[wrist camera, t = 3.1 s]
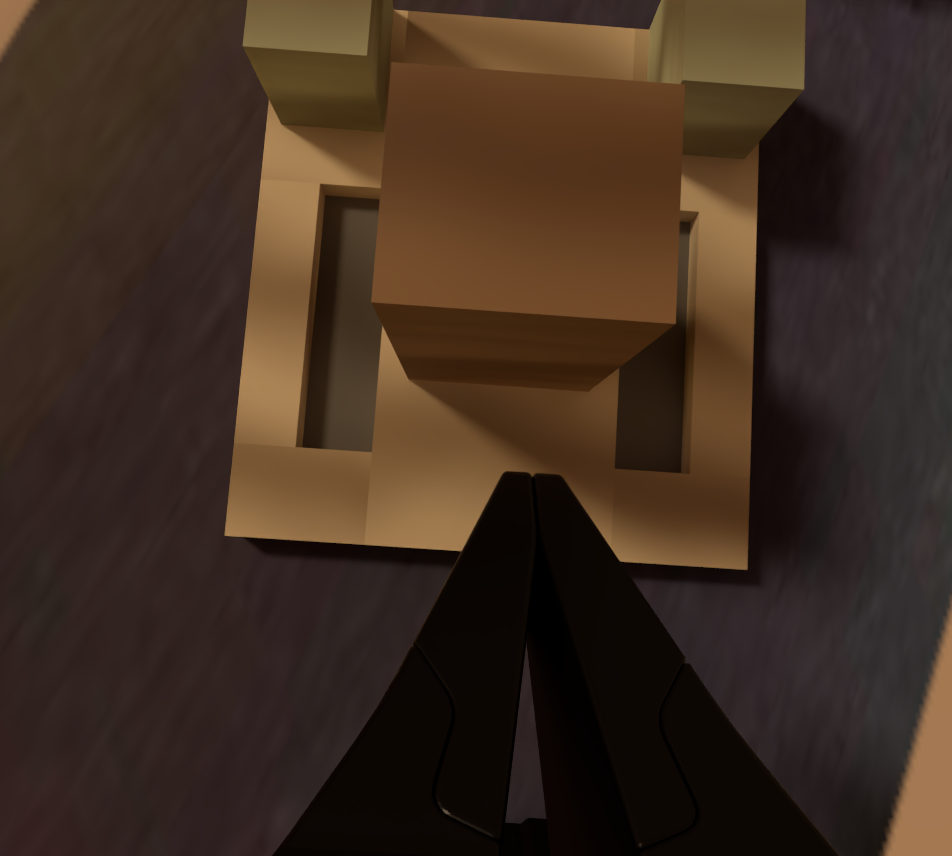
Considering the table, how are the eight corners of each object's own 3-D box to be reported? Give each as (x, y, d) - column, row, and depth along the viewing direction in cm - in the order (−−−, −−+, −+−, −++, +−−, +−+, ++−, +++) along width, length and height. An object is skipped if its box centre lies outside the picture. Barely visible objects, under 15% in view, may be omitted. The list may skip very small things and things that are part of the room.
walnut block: (588, 391, 22) (675, 323, 13) (408, 379, 22) (371, 302, 13) (595, 246, 22) (685, 84, 13) (419, 233, 22) (391, 62, 13)
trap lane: (732, 565, 23) (812, 588, 18) (237, 533, 22) (170, 545, 17) (747, 60, 24) (823, -55, 19) (288, 25, 24) (241, -102, 19)
